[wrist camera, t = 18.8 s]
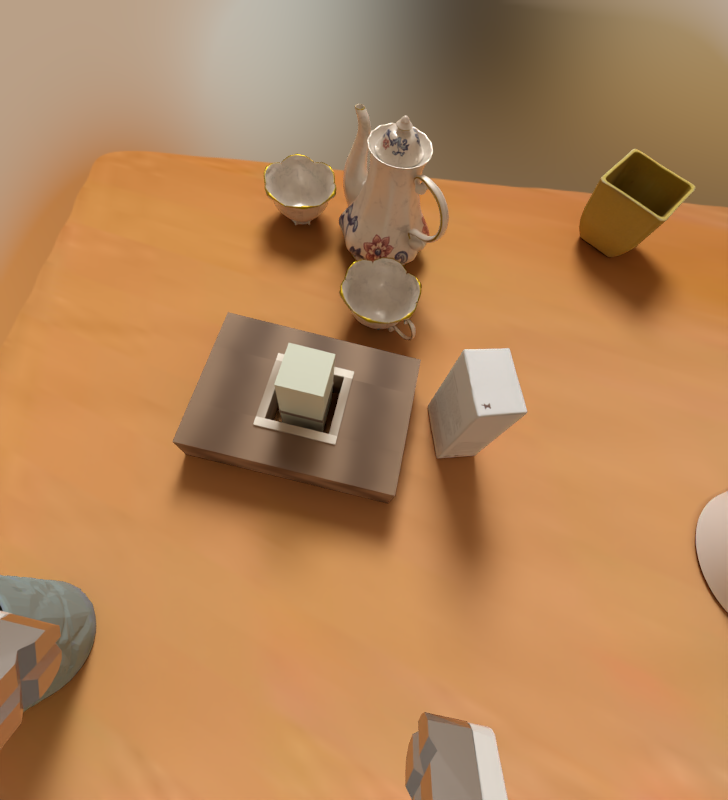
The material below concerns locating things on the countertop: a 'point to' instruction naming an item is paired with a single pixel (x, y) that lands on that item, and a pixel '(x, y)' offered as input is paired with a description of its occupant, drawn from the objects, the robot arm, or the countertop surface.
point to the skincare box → (475, 402)
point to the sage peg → (305, 386)
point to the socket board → (291, 445)
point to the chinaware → (370, 215)
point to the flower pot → (631, 203)
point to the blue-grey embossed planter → (54, 619)
